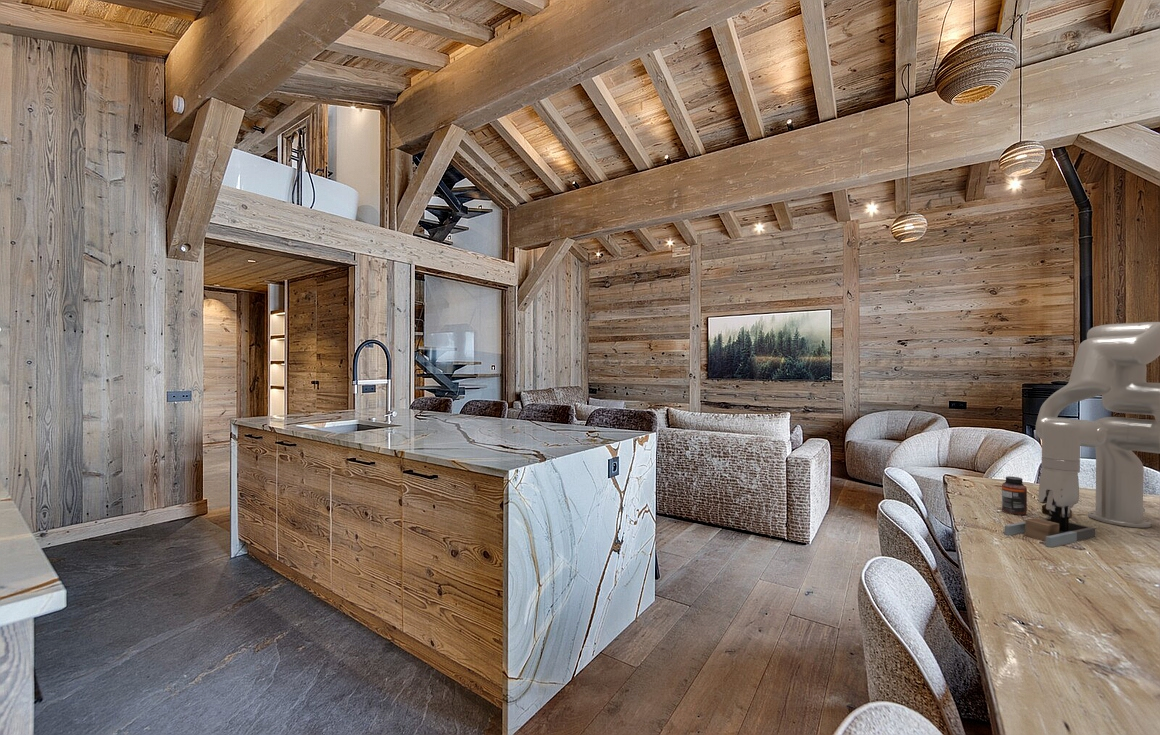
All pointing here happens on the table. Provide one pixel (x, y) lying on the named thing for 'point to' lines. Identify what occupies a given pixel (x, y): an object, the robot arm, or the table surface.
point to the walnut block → (1040, 528)
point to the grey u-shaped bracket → (1073, 535)
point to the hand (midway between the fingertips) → (1059, 529)
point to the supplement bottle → (1014, 496)
